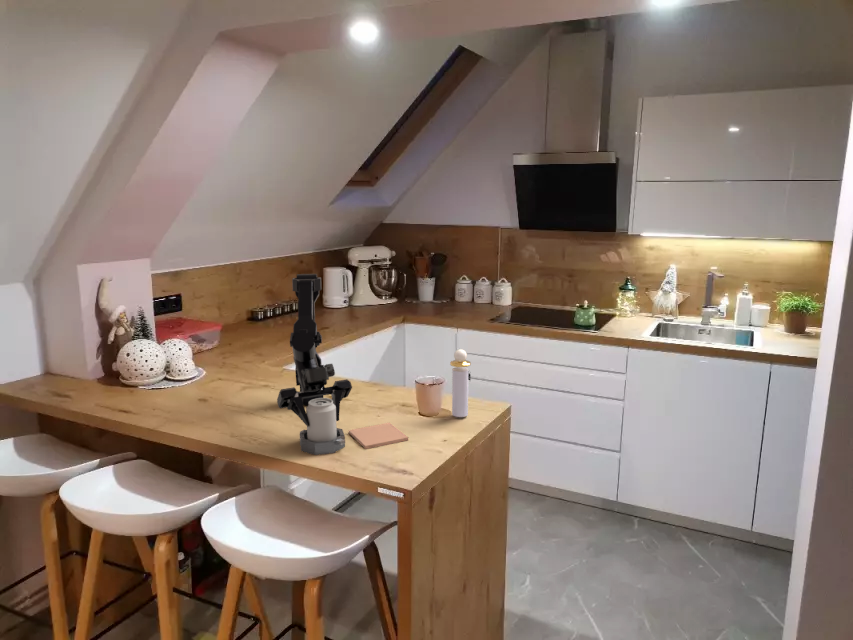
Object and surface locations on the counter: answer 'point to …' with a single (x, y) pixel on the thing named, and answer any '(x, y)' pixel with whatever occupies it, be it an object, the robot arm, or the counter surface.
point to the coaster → (378, 435)
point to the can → (321, 420)
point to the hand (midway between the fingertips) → (323, 423)
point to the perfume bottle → (460, 383)
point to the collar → (322, 444)
